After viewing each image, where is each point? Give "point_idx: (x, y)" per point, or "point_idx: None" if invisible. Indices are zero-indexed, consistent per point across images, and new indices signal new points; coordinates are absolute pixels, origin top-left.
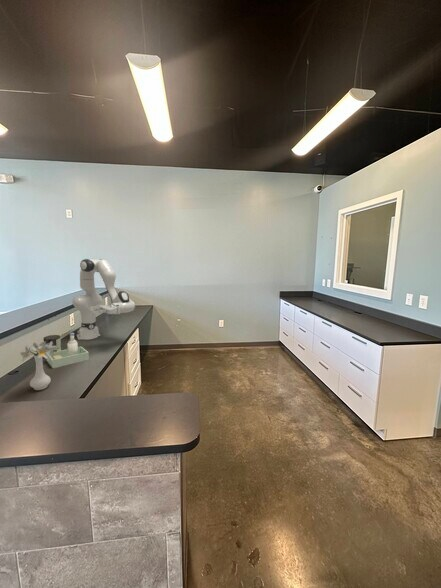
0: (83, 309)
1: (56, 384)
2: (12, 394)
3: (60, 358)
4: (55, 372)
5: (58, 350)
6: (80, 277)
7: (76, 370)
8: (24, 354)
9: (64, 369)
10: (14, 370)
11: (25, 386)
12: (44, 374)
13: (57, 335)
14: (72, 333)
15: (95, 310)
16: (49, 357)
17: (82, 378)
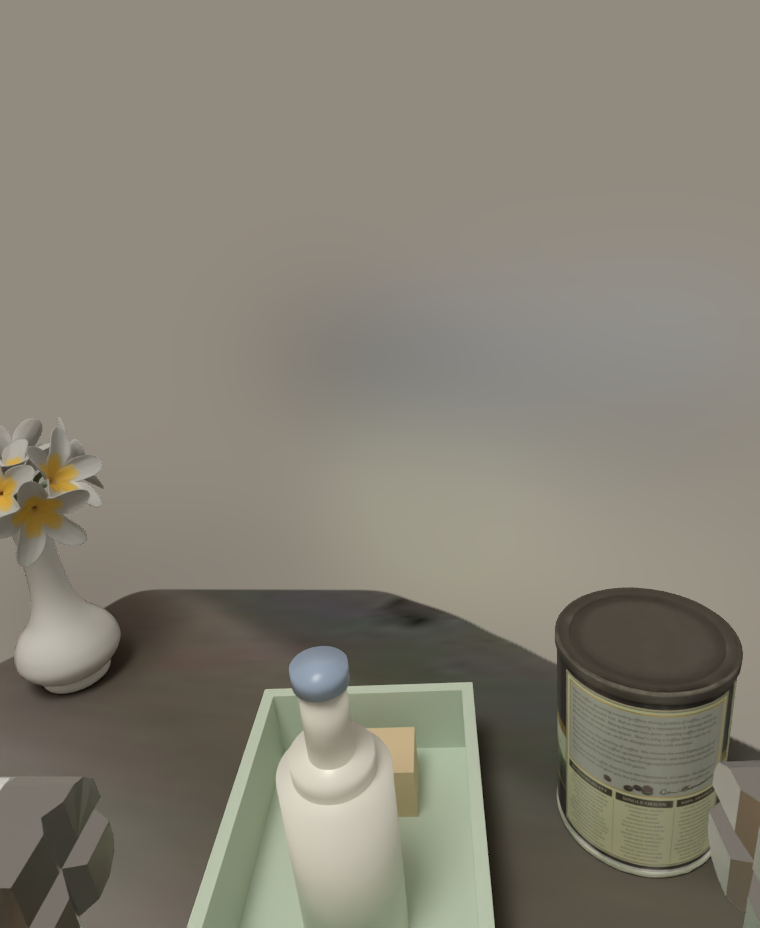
0: None
1: (21, 727)
2: (142, 602)
3: (250, 734)
4: (202, 753)
5: (579, 791)
6: None
7: None
8: (48, 453)
9: (194, 808)
10: (445, 613)
11: (169, 633)
12: (31, 619)
13: (703, 677)
14: (302, 666)
15: (722, 863)
16: (359, 688)
17: None
